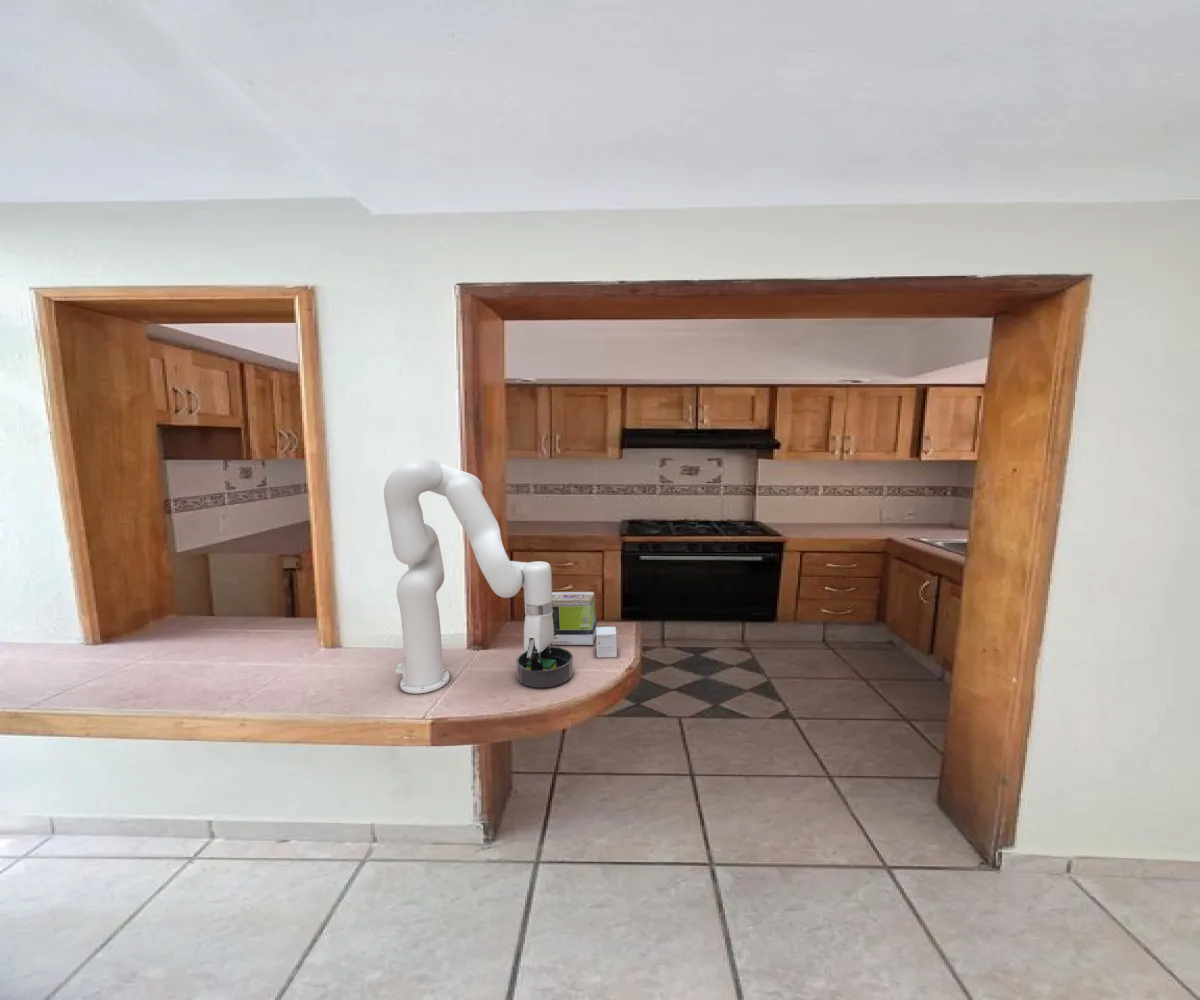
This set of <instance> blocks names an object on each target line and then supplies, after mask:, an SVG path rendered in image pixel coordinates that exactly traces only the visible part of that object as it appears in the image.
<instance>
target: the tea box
mask: <svg viewBox="0 0 1200 1000" xmlns="http://www.w3.org/2000/svg"><path fill="white" fill-rule="evenodd" d="M552 601H553V613H552V617H553V628H554V639H553V641H552V642H551V646H552V645H553V646H558V645H559V646H593V645H594V642H595V641H596V627H597V613H596V611H597V610H596V592H595V591H552Z"/></svg>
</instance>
